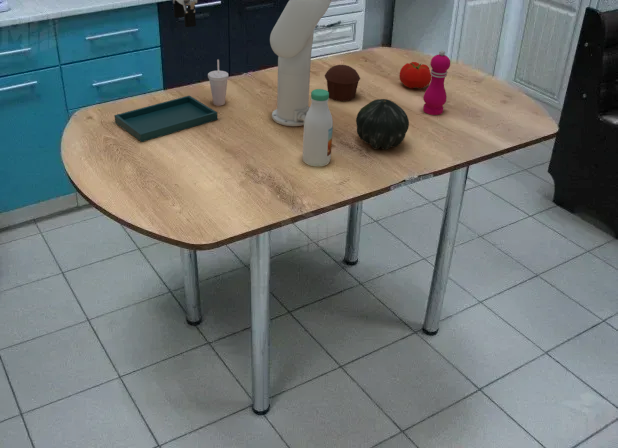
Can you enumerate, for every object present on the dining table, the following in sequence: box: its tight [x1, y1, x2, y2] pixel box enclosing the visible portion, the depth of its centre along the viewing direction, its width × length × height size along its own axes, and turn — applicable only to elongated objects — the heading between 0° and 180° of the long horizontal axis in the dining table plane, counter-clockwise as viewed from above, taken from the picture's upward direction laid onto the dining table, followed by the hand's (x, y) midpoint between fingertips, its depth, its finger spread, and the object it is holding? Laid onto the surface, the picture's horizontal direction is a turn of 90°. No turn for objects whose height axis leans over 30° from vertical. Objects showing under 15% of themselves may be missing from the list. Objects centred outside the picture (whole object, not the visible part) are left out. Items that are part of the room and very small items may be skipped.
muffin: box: [324, 64, 361, 102], centre depth 218 cm, size 12×11×10 cm
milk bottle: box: [302, 88, 334, 167], centre depth 178 cm, size 8×8×20 cm
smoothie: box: [207, 59, 229, 107], centre depth 208 cm, size 6×6×14 cm
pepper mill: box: [422, 49, 451, 116], centre depth 209 cm, size 7×7×20 cm
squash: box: [355, 98, 410, 151], centre depth 190 cm, size 14×15×15 cm
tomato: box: [399, 61, 432, 89], centre depth 229 cm, size 11×11×8 cm
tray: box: [113, 95, 219, 143], centre depth 199 cm, size 16×26×2 cm, turn 131°
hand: (184, 21), depth 197 cm, fingers open, 9 cm apart
